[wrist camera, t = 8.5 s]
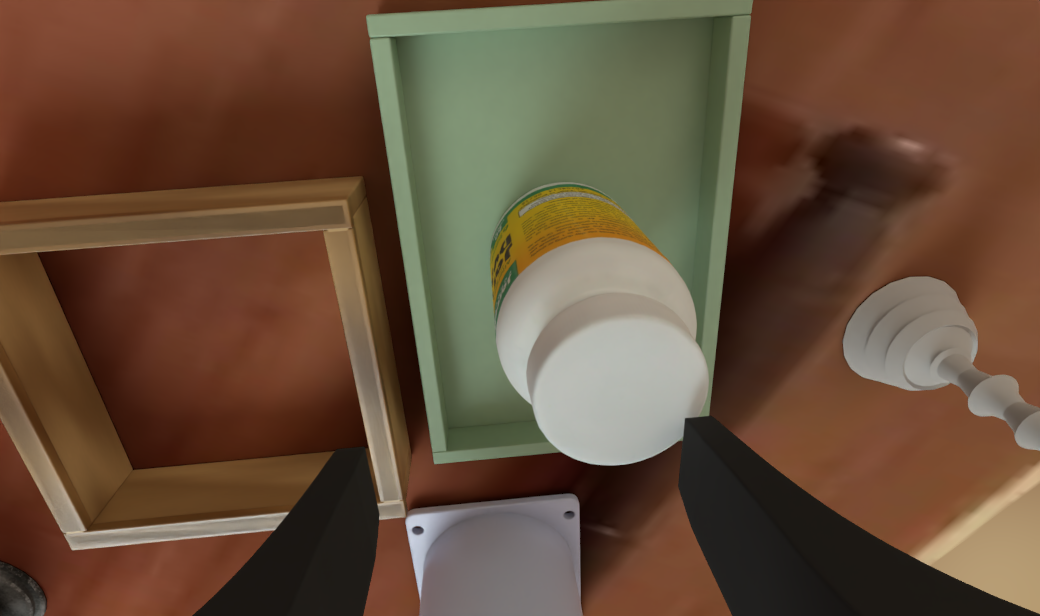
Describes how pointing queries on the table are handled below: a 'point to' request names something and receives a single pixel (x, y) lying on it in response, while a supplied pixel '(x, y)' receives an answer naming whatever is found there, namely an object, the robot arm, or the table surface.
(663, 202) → the tray
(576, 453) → the supplement bottle
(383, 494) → the brown wooden square frame
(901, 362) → the chalice
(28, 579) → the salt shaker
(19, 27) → the table surface
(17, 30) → the table surface
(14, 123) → the table surface
